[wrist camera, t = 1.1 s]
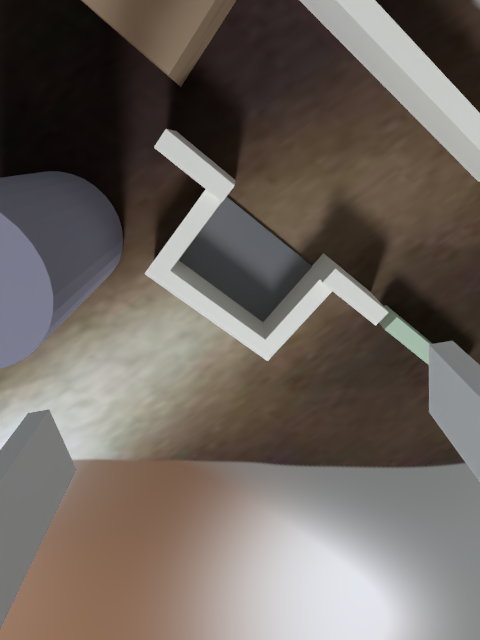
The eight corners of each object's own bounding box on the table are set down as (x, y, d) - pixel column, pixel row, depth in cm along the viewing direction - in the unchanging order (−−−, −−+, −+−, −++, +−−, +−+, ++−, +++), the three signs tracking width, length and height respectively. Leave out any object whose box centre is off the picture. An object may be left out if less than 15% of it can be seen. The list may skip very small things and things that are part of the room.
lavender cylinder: (142, 208, 35) (80, 249, 21) (99, 307, 39) (22, 397, 25) (24, 146, 33) (-127, 148, 20) (-9, 256, 37) (-158, 323, 23)
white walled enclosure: (110, 229, 36) (91, 242, 31) (291, -43, 29) (301, -80, 24) (299, 366, 41) (306, 393, 37) (492, 166, 34) (532, 169, 29)
